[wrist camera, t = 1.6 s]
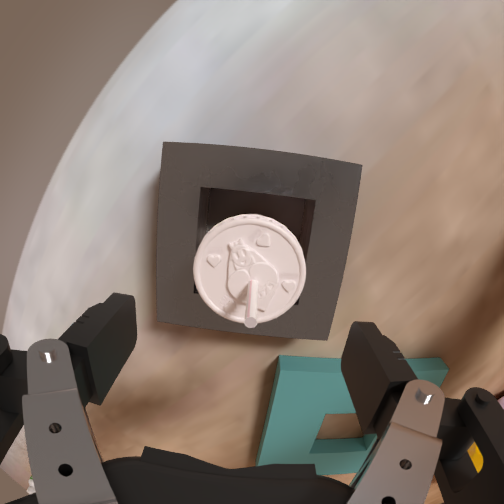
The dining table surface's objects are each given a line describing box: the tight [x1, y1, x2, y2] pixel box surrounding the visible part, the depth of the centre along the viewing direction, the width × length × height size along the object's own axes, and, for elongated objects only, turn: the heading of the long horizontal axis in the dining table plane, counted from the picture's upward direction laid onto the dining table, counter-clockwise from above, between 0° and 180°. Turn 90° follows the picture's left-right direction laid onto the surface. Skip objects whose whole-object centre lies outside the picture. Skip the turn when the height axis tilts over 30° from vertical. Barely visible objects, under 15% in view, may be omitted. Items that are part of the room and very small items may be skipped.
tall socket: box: [156, 142, 362, 340], centre depth 24 cm, size 14×14×4 cm
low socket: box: [256, 355, 449, 475], centre depth 31 cm, size 20×20×2 cm
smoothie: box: [193, 213, 306, 328], centre depth 19 cm, size 6×6×14 cm
